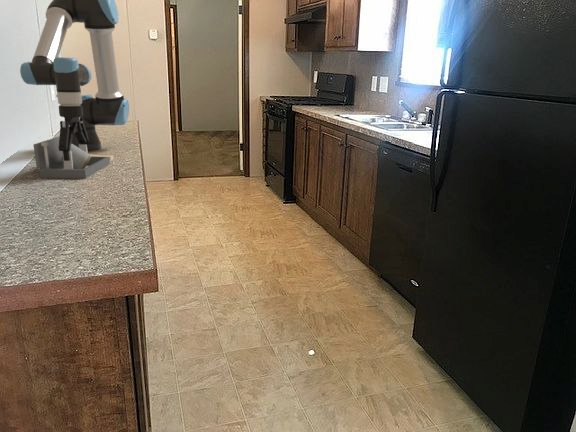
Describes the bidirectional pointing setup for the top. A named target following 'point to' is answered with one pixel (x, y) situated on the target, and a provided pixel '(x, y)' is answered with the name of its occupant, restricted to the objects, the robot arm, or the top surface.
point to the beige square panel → (104, 155)
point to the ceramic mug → (78, 157)
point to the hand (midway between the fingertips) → (77, 165)
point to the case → (52, 168)
